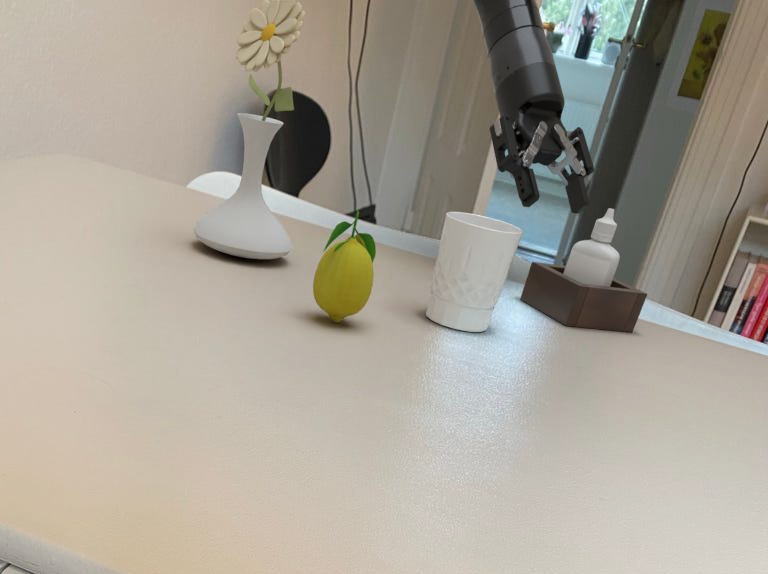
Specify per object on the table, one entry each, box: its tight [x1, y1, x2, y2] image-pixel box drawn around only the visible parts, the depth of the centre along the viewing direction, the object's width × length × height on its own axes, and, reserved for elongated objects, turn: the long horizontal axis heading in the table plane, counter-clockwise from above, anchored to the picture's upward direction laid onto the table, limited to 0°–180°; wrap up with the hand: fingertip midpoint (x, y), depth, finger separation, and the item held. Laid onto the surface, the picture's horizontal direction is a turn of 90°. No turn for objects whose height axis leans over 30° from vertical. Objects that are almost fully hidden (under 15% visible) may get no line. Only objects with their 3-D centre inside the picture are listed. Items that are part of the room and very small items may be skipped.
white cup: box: [425, 211, 524, 333], centre depth 94 cm, size 8×8×10 cm
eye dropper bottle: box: [563, 207, 621, 287], centre depth 107 cm, size 4×6×12 cm
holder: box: [519, 261, 648, 333], centre depth 109 cm, size 10×10×4 cm
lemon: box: [312, 210, 377, 323], centre depth 84 cm, size 7×6×10 cm
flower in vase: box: [192, 0, 306, 260], centre depth 96 cm, size 13×11×25 cm
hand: (556, 206), depth 110 cm, fingers open, 8 cm apart
